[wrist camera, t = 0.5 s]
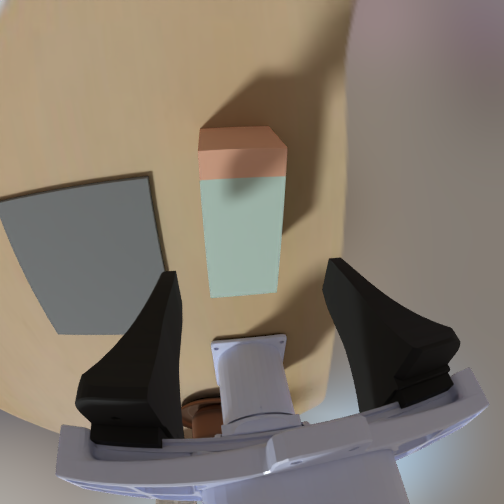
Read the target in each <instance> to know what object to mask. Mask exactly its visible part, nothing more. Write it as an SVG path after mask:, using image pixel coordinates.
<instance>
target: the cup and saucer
mask: <svg viewBox="0 0 504 504" xmlns="http://www.w3.org/2000/svg"><path fill="white" fill-rule="evenodd" d="M181 413H182V423H183V426H184V427H187V428H190V429H192V434H193V438H213V437H215V435H216V434H222V429H221V425H224V424H223V415H222V406H221V398H206V399H200V400H196V401H193V402H190V403H188V404H186V405H184V406H183V407H181Z"/></svg>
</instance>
